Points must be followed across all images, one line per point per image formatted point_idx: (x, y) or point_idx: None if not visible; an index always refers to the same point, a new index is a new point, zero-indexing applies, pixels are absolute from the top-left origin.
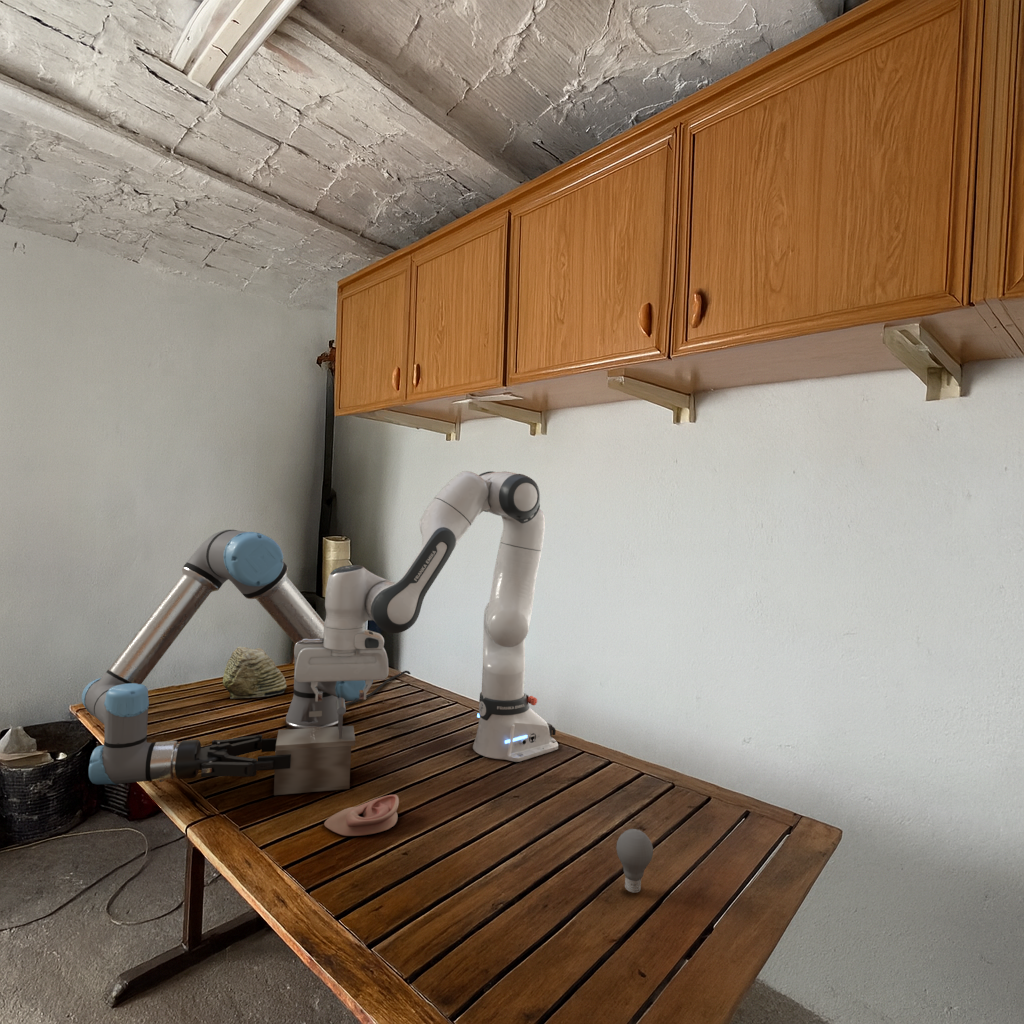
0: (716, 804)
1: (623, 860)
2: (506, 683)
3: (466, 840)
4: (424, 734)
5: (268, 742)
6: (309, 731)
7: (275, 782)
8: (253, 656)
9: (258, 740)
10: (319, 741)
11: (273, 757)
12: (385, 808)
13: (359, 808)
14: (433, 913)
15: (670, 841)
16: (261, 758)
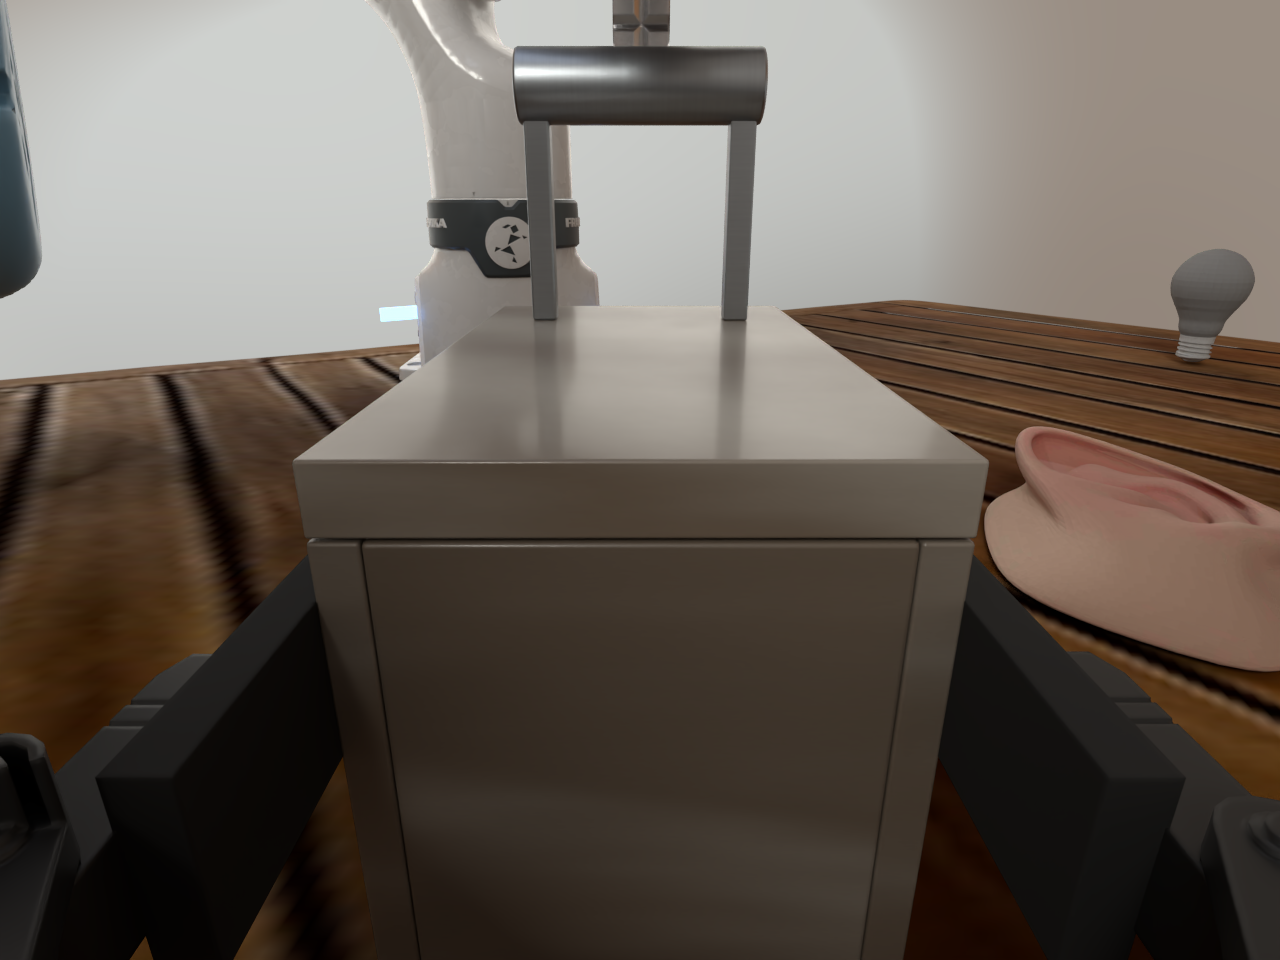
0: (842, 314)
1: (1242, 298)
2: (568, 138)
3: (1113, 437)
4: (263, 435)
5: (256, 733)
6: (529, 360)
7: (909, 892)
8: None
9: (57, 863)
10: (801, 343)
11: (1024, 623)
12: (1108, 469)
13: (1160, 512)
14: None
15: (985, 337)
16: (1132, 739)
